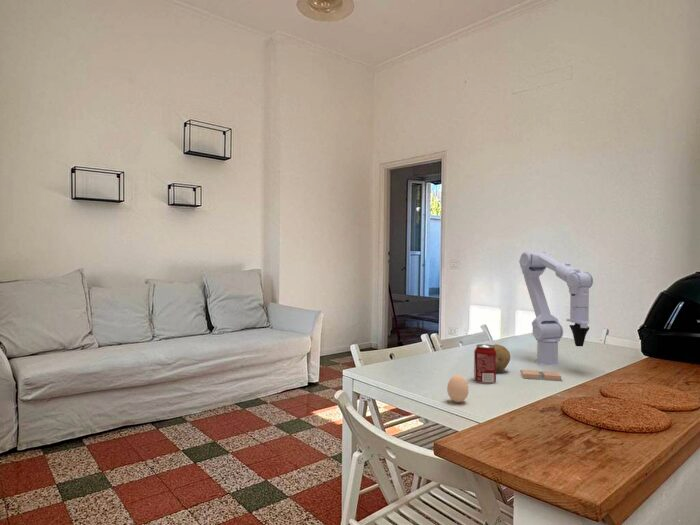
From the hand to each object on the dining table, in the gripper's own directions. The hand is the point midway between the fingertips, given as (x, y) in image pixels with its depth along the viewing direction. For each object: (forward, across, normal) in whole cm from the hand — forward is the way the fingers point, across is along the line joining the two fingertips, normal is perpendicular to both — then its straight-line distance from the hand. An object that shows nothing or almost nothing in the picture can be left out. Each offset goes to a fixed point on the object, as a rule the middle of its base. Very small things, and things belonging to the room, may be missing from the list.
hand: (579, 346), depth 159 cm
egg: (+10, +43, -40) cm, 60 cm away
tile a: (+9, +7, -17) cm, 20 cm away
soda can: (+10, +20, -32) cm, 39 cm away
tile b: (+9, +7, -10) cm, 15 cm away
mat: (+10, +8, -14) cm, 18 cm away
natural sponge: (+10, +6, -28) cm, 30 cm away
